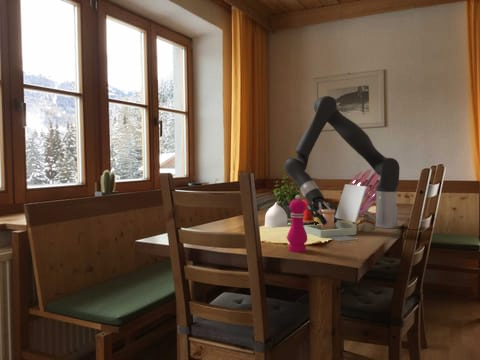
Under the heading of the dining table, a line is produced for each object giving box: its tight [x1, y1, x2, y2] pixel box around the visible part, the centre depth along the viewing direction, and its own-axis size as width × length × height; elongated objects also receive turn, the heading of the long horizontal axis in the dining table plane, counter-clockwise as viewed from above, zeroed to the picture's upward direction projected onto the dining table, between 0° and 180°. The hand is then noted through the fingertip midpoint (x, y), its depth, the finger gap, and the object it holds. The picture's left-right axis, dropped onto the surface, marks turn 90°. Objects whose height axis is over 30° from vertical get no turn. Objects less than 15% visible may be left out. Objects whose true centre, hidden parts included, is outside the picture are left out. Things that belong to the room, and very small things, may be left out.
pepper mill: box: [286, 194, 308, 253], centre depth 153 cm, size 7×7×20 cm
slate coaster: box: [326, 235, 359, 244], centre depth 171 cm, size 9×9×1 cm
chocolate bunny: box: [357, 210, 377, 233], centre depth 190 cm, size 6×8×10 cm
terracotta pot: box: [321, 209, 336, 230], centre depth 183 cm, size 6×6×10 cm
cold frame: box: [303, 184, 367, 238], centre depth 183 cm, size 23×14×21 cm, turn 114°
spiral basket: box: [347, 168, 380, 218], centre depth 239 cm, size 28×28×27 cm
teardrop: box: [264, 201, 289, 228], centre depth 205 cm, size 11×11×12 cm
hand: (330, 223), depth 182 cm, fingers closed on terracotta pot, 5 cm apart
